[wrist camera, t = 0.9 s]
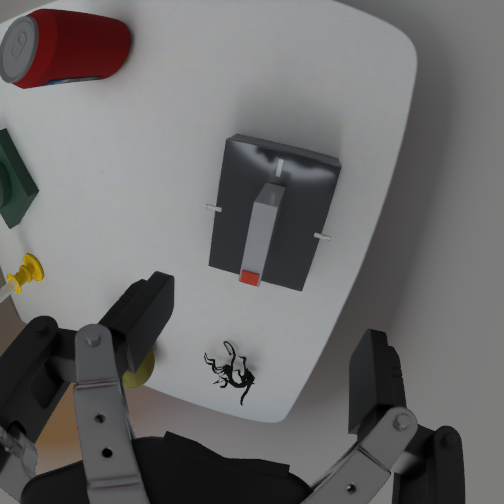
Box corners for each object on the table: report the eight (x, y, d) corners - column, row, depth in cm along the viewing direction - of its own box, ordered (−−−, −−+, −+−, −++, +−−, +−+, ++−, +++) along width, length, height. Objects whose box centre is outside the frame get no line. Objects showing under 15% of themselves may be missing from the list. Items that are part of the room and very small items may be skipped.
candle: (22, 249, 39) (-40, 301, 26) (40, 258, 39) (-25, 316, 26) (28, 274, 42) (-28, 326, 29) (46, 283, 42) (-12, 341, 29)
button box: (-12, 167, 33) (-29, 175, 29) (5, 128, 29) (-15, 135, 25) (18, 223, 37) (1, 235, 33) (39, 190, 32) (18, 202, 29)
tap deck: (226, 131, 25) (215, 136, 22) (349, 161, 24) (352, 170, 21) (210, 248, 31) (199, 264, 28) (312, 276, 30) (310, 295, 27)
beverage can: (76, 55, 23) (-13, 63, 12) (113, 8, 20) (23, -6, 9) (105, 92, 24) (11, 109, 14) (147, 43, 21) (52, 33, 11)
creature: (206, 361, 42) (253, 388, 40) (186, 385, 38) (237, 415, 36) (215, 328, 38) (270, 358, 36) (193, 354, 34) (252, 388, 32)
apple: (110, 324, 42) (86, 356, 36) (149, 326, 39) (125, 362, 33) (132, 358, 45) (112, 389, 39) (170, 362, 43) (151, 397, 37)
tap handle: (265, 182, 23) (252, 202, 19) (286, 187, 23) (277, 209, 19) (251, 252, 26) (237, 283, 22) (268, 256, 26) (258, 289, 22)
